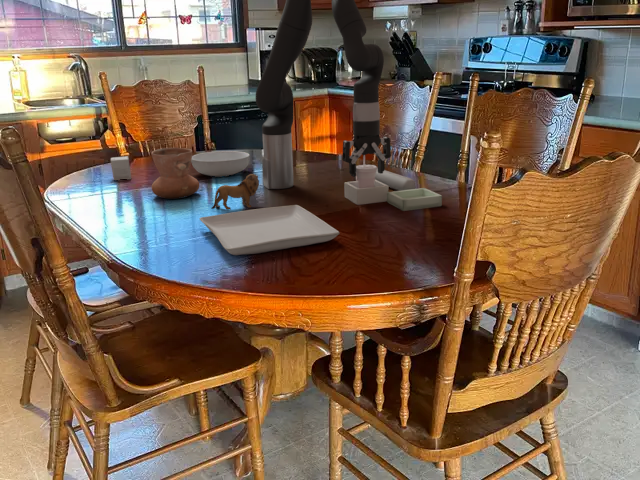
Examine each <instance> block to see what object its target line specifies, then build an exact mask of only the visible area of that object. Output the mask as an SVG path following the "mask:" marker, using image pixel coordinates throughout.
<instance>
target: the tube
mask: <svg viewBox="0 0 640 480" xmlns="http://www.w3.org/2000/svg"><path fill="white" fill-rule="evenodd" d="M375 180H377V181H379V182H381V183H383V184H386V185H388V186H389V187H390V188H389V189H393V190H394V191H402V190H411V189H417V187H416V181H415V180H413V179H412V178H411V177H409V176H408V177H407V176H405V175H401V174H398V173H395V172H391V171H388V170H386V169H385V170H384V171H383V173H381V174H380V173H378V167H377V171H376V174H375Z"/></svg>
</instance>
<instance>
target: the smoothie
mask: <svg viewBox="0 0 640 480" xmlns="http://www.w3.org/2000/svg"><path fill="white" fill-rule="evenodd" d="M362 156H363V157H362V162H363V164H359V165H356V181H358V188H359V189H360V188H368V187H374V182H375V174H376V171H377V168H378V165H377V166H376V165H375V164H366V155H362Z"/></svg>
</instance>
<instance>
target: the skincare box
mask: <svg viewBox="0 0 640 480" xmlns="http://www.w3.org/2000/svg"><path fill="white" fill-rule="evenodd" d="M129 160H130V159H129V156H128V155H127V156H126V155H125V156H115V157H110V164H111V171H112V172H111V173H112V177H113V181H114V180H118V181H120V180H119V179H127V180H132V174H131V168H130V167H131V166H130V161H129Z"/></svg>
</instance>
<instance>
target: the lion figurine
mask: <svg viewBox="0 0 640 480" xmlns="http://www.w3.org/2000/svg"><path fill="white" fill-rule="evenodd" d="M259 186H260V180H259V176H258V175H256V174H252V173H250V174H248V175H246V177H245V179H244V180H242V181H241V182H240V183H239V184H237V185H227V184H223V185H221V186H219V187H218V188H217V189H216V192H215V196H214V201H213V202H214V203H213V205H212V206H211V208H210V209H211V210H214V209H215V208H216V209H218V208H217V207H220V208H221V205H219V203H220V202H221V201H222V205H223V207H224V208H225V209H226V210H227V209H230V210H231V207H230V206H228V205H227V203H228V201H229V200H228V199H229V197H230V198H231V199H232V198H233V199H240V198H241V203H242V205H243V206H246V207H247V208H252V205H251V204H250V202H251V198H250V197H252V196H255V194H256V192H257V191H258V189H259Z"/></svg>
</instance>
